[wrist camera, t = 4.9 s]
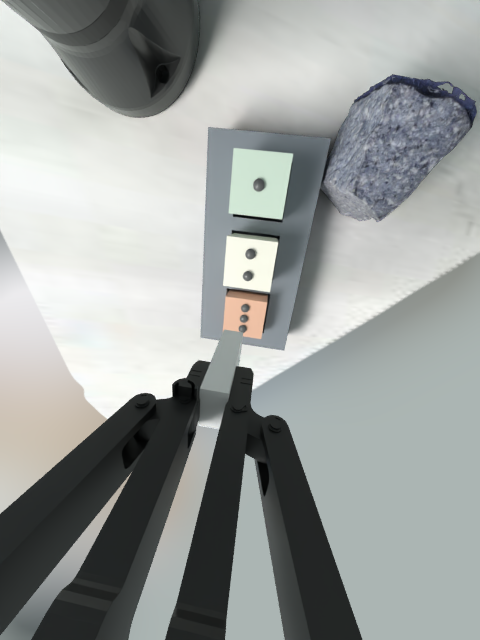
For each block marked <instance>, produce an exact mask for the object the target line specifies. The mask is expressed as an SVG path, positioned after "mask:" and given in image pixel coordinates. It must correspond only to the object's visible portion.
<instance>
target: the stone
mask: <svg viewBox="0 0 480 640" xmlns="http://www.w3.org/2000/svg"><path fill="white" fill-rule="evenodd" d="M445 83H449V84H450V85H451V86H452V87H454V86H453V85H452V84H451V83H450V82H433V81H431V80H430V79H426V80H423V79H421V80H420V79H416V78H413V79H412V78H410V77H404V76H400V75H393V74H392V76H390V77H387V78H386V79H385V80H383V81H382V82H379V83H378V84H376V85H374V86H371V87H370V90H369V91H367V92H366V93H364V94H363V95H362V96H360V97H358V98H357V99H356V100H354V103H353V104H352V106H351V108H350V110H349V113H348V116H347V118H346V119H345V121H344V123H343V124H342V126H341V129H340V130H339V132H338V136H337V139H336V141H335V143H334V146H333V148H332V150H331V153H330V155H329V157H328V158H327V160H326V163H325V168H324V172H323V177H322V181H321V186H320V189H321V190H322V191H323V192H324V193H325V194H326V195H327V196H328V198H329V199H330V200H331V201H332V202H333V204H334V206H335V207H336V208H337V209H338V210H339V212H340V213H341V214H342V215H346V216H351V217H353V218H356V219H357V220H358V221H362V220H364V221H365V220H368V219H371V218H372V217H373V218H374V219H375V220H376V221H377V222H379V221H381V220H382V219H383V218H385V217H386V216H387V215H389V214H390V213H391V212H392V211H393V210H395V209H396V208H397V207H398V206H399V205H400V204H401V203H402V202H403V201H404V200H406V199H407V198H408V197H409V196H410V195H411V194H412V192H413V191H414V190H415V189H416V188H417V186H418V185H419V183H420V182H421V181H422V180H423V179H424V178H425V177H426V176H427V175H428V173H429V172H430V171H431V170H432V169H433V168H434V167H435V165H436V164H437V163H438V162H439V161H440V160H441V159H442V158H443V157H444V156H445V155H447V154H448V153H449V152H450V151H452V150H453V149H454V147H455V146H456V145H457V144H458V143H459V142H460V141H461V139H462V138H463V137H464V136H465V135H466V133H467V132H468V131H469V130H470V128H471V127H472V125H473V121H474V118H475V116H476V113H477V110H476V106H475V102H476V101H474V100H472V99H471V98H469V97H468V96H467V95H466V94H465V93H464V92H463V91H462V90H461V89H459V88H458V87H454V88H453V91H452V94H451V93H448V92H447V90H446V91H444V89H443V90H441V89H440V88H438V87H437V86H439V85H443V84H445ZM461 94H463V95H464V96H465V101H464V100H462V99H459V96H460V95H461ZM456 96H457V97H456Z"/></svg>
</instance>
